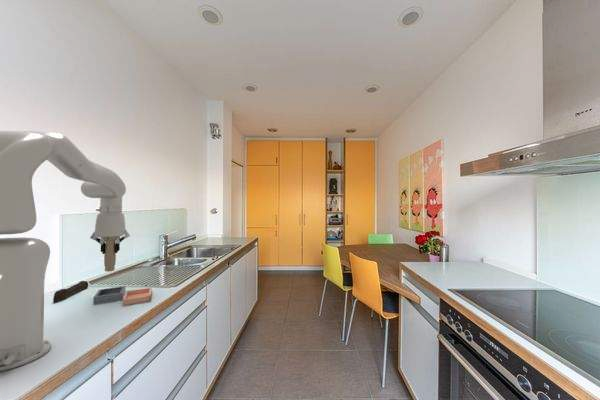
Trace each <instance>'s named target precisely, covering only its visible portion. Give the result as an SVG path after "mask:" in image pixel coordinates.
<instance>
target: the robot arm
mask: <svg viewBox="0 0 600 400" xmlns="http://www.w3.org/2000/svg"><path fill="white" fill-rule="evenodd" d="M46 161H48V162H49V163H50V164H51V165H53V166H54V167H55V168H56V169H57V170H59V171H60V173H63V175H65V176H66V177H68V178H69V179H70V178H71V179H74V180H78V181H82V183H81V186H80V191H81V194H83V195H84V196H85V197H87V198H89V199H99V200H100V204H99V205H100V206H99V207H96V208H95V212H99V213H97V215H96V219H95V225H94V226H95V227H94V231H93V233H92V234H91V235H90V237H89V238H90V240H93V241H95V242H97V243H98V244H100V252H101V253H102V255H105V245H106V242H105V241H104V240H103V237H118V239H117V240H116V242H115V253H116V254H118V253H119V251H120V245H121V243H122V242H123V240H125V239H127V238H129V237H130V236H131V234H130V233H129V232H128V231H127V229H126V219H125V214H124V213H123V197H124V196H125V194H126V193H127V192H126V191H127V187H126V184H125V182H124V181H123V179H122V178H121V177H120V176H119V175H118V174H117V173H116V172H115V171H113V170H111V169H110V168H108V167H106V166H104V165H100V164H99V163H96V162H94V161H91V160H90V159H89V158H87V156H86V155H85V154H84V153H83V152H82V151H81V150H80V149H79V148H78V147H77V146H76V145H75V144H74V143H73V142H72V141H71V139H70V138H68V137H67V136H66V135H64V134H62V133H58V132H54V131H35V130H34V131H31V130H0V235H17V234H23V233H24V234H25V233H28V232H29V231H31V230H33V229H34V228H35V226H36V224H37V211H36V204H35V199H34V198H35V197H34V191H33V176H34V175H35V173H36V171H37V169H39V167H40V166H41V165H42V164H43V163H45V162H46ZM119 236H120V238H119ZM50 248H51V247H50V246H49V244H48V243H47V242H45V241H44V240H42V239H39V238H36V237H35V238H34V237H0V276H1V277H0V372H3V371H7V370H11V369H14V368H18V367H20V366H23V365H26V364H28V363H31V362H34V361H35V360H37V359H39V358H40V357H43V356H44V355H45V354H46V353H48V352H49V351H50V350H51V348H52V342H51V341H50V340H46V339H44V329H45V328H44V326H45V325H44V324H45V322H44V321H45V315H44V314H45V279H46V272H47V267H48V263H49V260H50V256H51V249H50Z"/></svg>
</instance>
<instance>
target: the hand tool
mask: <svg viewBox="0 0 600 400" xmlns="http://www.w3.org/2000/svg"><path fill="white" fill-rule="evenodd" d="M88 287H89V282H88V281H86V280H81V281H79V282H78V283H76V284H73V285H70V287H67V288H61V289H59V290H56V291H55V292H54V294H53V297H52V299H53V301H52V303H53V304H57V303H60V302H62V301H64V300H67V299H68V297H70V296H72V295H74V294H76V293H78V292H80V291H82V290H84V289H85V290H86V289H88Z"/></svg>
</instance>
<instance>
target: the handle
mask: <svg viewBox="0 0 600 400" xmlns="http://www.w3.org/2000/svg"><path fill="white" fill-rule="evenodd" d="M119 238H121V236H119ZM117 239H118V237H103V240H104V241H105V244H106V245H105V254H103V255H104V259H103V262H104V263H103V265H104V271H105V272H109V273H110V272H113V271H115V269H116V267H115V266H116V262H117V260H116V259H117V253H115V244H116V240H117Z"/></svg>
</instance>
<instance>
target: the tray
mask: <svg viewBox="0 0 600 400" xmlns="http://www.w3.org/2000/svg"><path fill="white" fill-rule="evenodd" d="M152 288H153V287H144V288H138V289H132V290H125V295H124V297H123V300H121V301H122V302H121V303H122V305H121V306H122V307H126V306H133V305H138V304H145V302H146V303H150V301H152V292H153V291H152V290H153V289H152Z"/></svg>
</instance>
